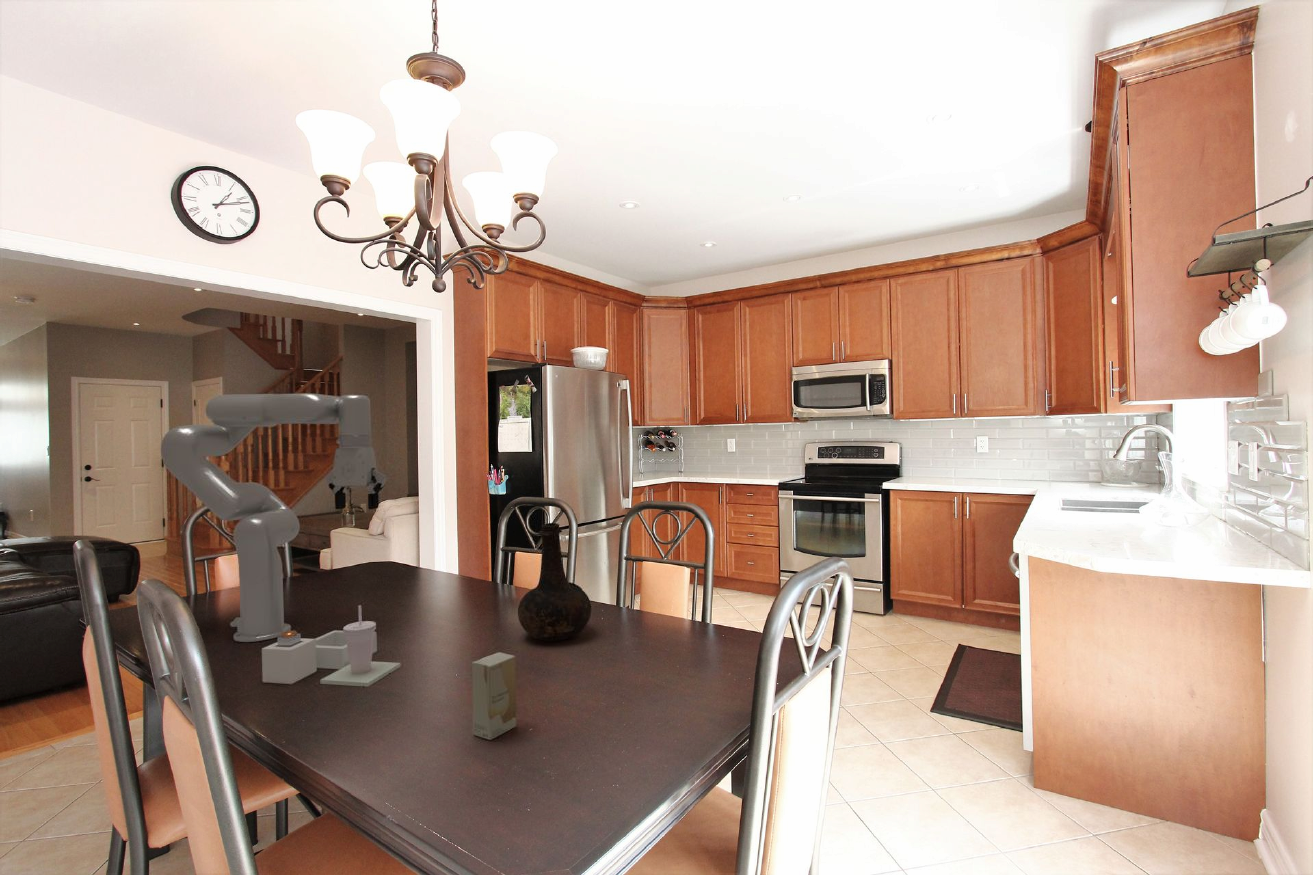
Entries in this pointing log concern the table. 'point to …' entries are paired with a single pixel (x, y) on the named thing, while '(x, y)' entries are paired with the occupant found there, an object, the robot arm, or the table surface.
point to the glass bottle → (553, 596)
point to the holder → (334, 650)
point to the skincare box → (494, 695)
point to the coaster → (360, 675)
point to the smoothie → (360, 644)
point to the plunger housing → (289, 662)
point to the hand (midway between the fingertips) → (356, 508)
